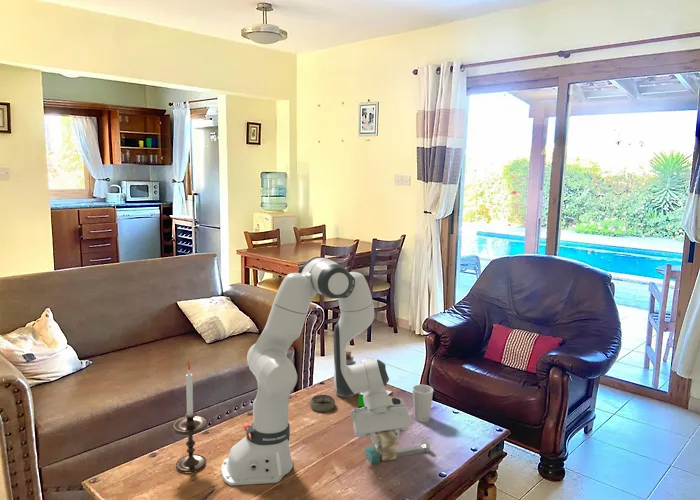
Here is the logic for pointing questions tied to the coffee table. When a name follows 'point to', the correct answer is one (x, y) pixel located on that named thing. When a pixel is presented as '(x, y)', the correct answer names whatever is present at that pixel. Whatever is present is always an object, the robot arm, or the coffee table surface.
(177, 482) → the coffee table surface
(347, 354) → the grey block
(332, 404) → the decorative ring
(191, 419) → the candlestick
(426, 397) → the cup
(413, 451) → the rail
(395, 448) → the beige slider block
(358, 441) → the coffee table surface
